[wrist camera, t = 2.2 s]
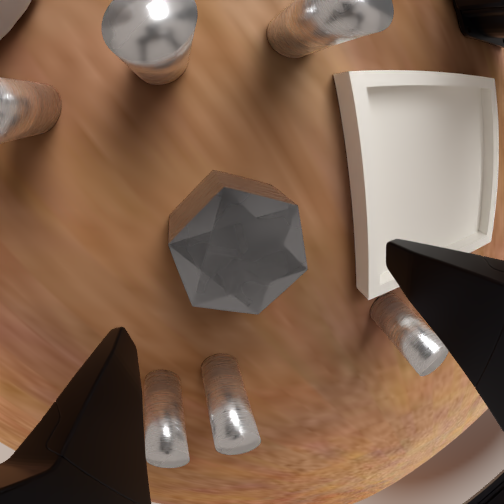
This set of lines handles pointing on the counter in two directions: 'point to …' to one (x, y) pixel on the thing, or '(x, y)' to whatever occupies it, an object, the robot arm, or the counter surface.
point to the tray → (418, 163)
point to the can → (11, 14)
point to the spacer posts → (165, 71)
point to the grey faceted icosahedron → (236, 243)
